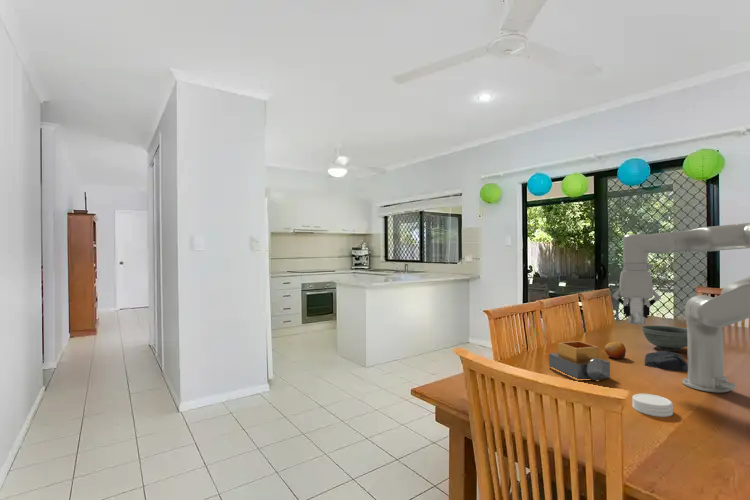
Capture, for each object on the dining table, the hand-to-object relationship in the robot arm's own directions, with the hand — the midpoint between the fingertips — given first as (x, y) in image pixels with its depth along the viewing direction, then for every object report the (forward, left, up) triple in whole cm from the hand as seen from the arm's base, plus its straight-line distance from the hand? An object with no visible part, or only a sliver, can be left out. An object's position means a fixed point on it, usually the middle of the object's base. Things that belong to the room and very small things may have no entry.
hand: (636, 316), depth 143 cm
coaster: (-23, +19, -24) cm, 38 cm away
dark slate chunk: (+14, -29, -24) cm, 40 cm away
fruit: (+26, -16, -24) cm, 39 cm away
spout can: (0, 0, -2) cm, 2 cm away
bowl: (+31, -51, -24) cm, 64 cm away
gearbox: (+12, +15, -23) cm, 30 cm away
